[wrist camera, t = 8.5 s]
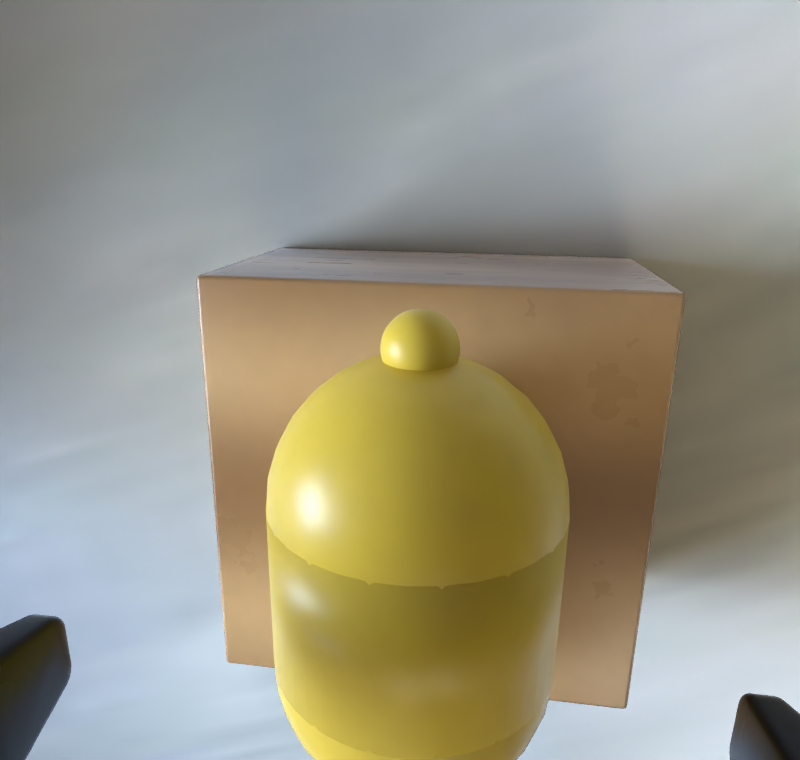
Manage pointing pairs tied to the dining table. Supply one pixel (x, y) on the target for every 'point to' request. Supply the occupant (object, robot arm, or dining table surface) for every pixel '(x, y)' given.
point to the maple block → (487, 345)
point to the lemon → (416, 556)
